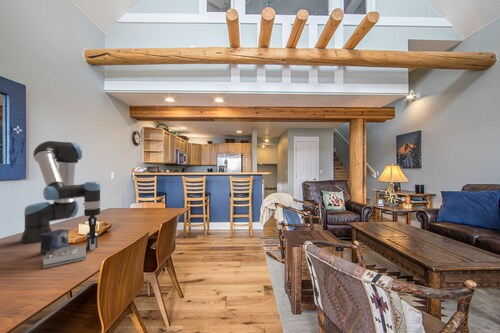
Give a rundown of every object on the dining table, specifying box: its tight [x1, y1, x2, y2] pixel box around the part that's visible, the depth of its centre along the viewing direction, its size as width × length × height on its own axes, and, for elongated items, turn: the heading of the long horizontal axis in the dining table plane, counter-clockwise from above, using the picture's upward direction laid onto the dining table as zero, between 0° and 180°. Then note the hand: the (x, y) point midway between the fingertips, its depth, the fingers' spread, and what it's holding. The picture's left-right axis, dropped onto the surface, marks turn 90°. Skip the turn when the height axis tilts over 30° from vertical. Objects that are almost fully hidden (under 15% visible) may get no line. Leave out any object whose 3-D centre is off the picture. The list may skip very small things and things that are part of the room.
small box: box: [39, 228, 69, 254], centre depth 123 cm, size 11×6×10 cm, turn 168°
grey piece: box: [42, 244, 87, 269], centre depth 111 cm, size 12×16×5 cm
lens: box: [86, 230, 99, 251], centre depth 126 cm, size 5×5×9 cm
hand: (92, 247), depth 126 cm, fingers open, 7 cm apart
